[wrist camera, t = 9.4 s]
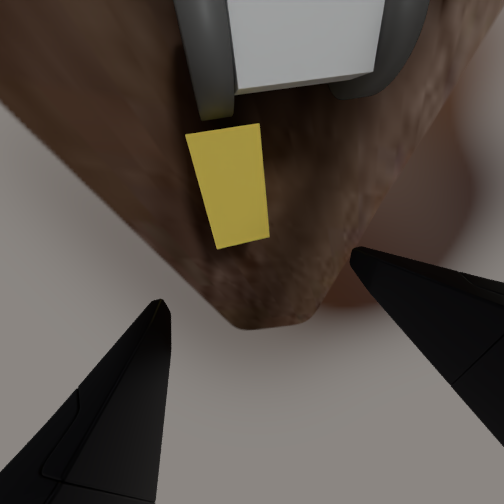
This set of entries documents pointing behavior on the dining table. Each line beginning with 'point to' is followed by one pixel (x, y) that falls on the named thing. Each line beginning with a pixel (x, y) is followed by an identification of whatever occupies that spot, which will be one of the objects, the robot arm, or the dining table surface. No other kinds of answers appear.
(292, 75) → the trolley
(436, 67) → the dining table surface
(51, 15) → the dining table surface
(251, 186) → the block
